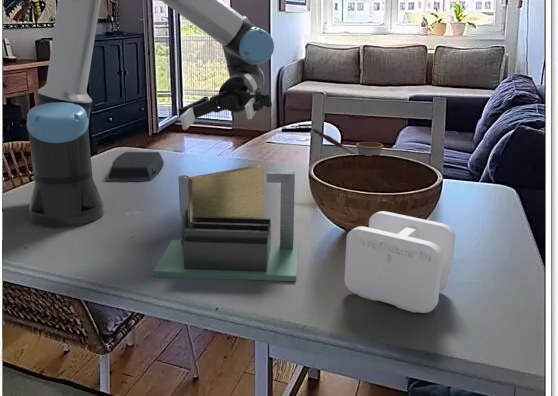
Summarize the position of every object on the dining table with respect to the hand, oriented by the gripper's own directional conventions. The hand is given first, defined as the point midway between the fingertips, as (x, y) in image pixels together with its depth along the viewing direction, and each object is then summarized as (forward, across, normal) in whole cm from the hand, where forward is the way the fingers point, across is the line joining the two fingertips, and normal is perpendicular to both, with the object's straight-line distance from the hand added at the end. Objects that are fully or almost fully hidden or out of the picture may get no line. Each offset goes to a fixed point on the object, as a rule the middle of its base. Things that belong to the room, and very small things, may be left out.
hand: (215, 118), depth 119 cm
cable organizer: (+29, -32, -26) cm, 50 cm away
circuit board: (+21, -3, -21) cm, 30 cm away
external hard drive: (-34, +37, -20) cm, 54 cm away
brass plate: (+10, 0, -20) cm, 22 cm away
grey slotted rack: (+20, -4, -21) cm, 30 cm away
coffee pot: (-24, -21, -30) cm, 43 cm away
